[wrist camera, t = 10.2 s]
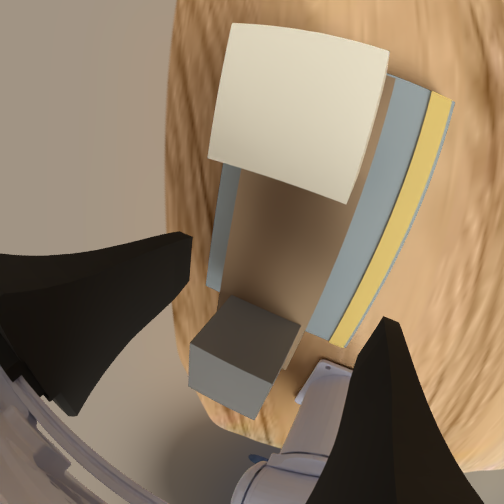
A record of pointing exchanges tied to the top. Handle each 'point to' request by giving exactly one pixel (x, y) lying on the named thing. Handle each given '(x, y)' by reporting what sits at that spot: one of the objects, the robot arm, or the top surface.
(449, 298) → the top surface
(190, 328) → the top surface
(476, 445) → the top surface
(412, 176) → the dock
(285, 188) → the brown piece
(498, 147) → the top surface
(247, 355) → the gray cube
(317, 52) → the cream block
